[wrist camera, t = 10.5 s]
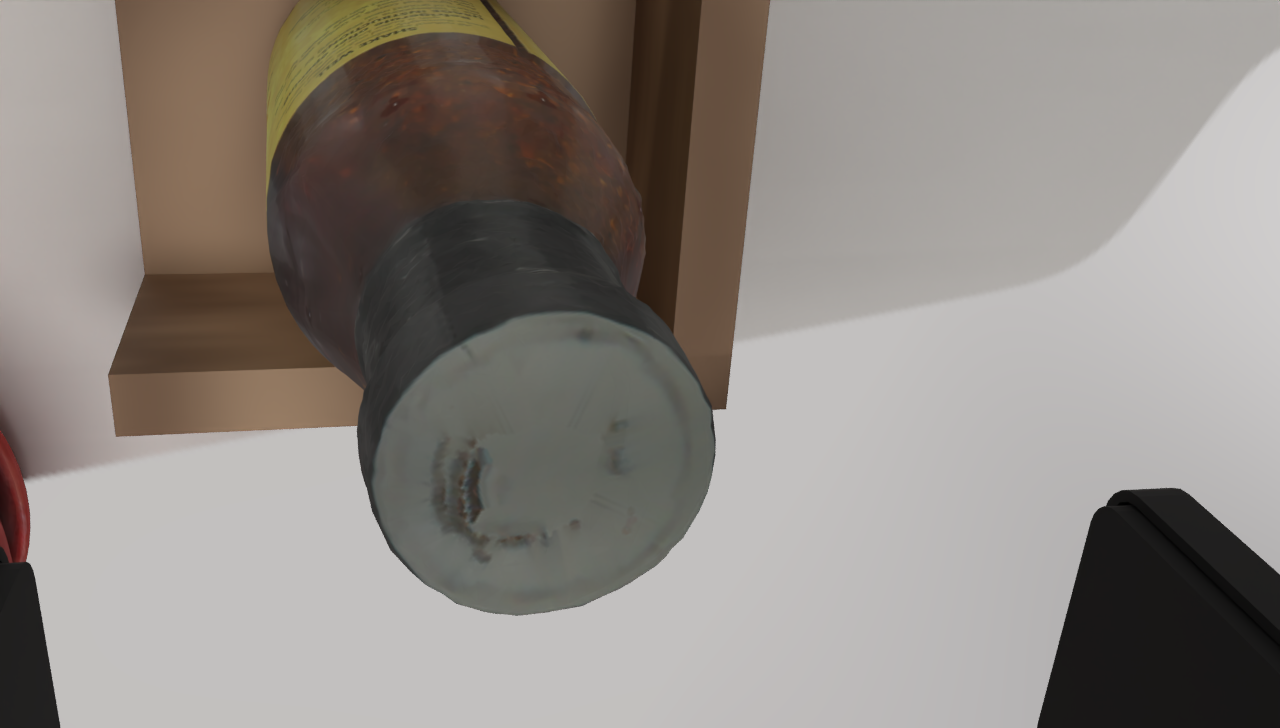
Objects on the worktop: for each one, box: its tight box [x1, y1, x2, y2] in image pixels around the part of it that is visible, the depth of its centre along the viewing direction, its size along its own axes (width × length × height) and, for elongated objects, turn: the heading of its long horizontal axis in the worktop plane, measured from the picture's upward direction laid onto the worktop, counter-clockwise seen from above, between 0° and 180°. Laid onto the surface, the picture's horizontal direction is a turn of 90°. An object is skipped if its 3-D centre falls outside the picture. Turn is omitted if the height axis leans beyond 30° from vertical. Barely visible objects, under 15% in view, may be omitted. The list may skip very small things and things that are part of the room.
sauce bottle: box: [266, 0, 716, 616], centre depth 22 cm, size 6×6×20 cm
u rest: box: [108, 0, 770, 437], centre depth 29 cm, size 14×14×7 cm
